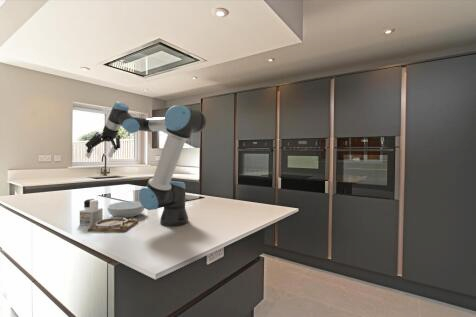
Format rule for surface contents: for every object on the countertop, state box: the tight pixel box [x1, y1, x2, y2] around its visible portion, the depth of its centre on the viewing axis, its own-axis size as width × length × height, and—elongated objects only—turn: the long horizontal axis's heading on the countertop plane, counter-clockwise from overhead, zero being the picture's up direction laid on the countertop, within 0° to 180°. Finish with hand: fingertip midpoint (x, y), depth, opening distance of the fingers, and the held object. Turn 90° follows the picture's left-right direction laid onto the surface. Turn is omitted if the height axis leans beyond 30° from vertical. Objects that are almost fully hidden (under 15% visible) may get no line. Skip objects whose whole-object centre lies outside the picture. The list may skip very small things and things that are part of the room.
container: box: [79, 198, 104, 227], centre depth 130 cm, size 8×8×13 cm
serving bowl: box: [107, 200, 145, 219], centre depth 147 cm, size 21×21×7 cm
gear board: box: [87, 216, 139, 233], centre depth 126 cm, size 18×16×4 cm
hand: (99, 156), depth 145 cm, fingers open, 13 cm apart
